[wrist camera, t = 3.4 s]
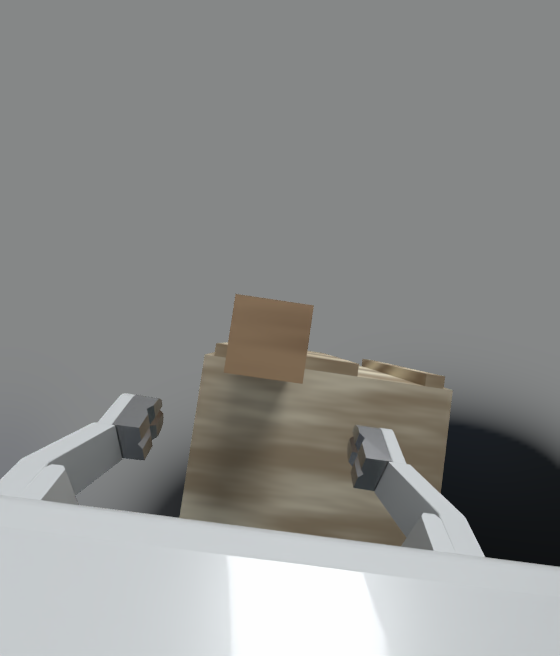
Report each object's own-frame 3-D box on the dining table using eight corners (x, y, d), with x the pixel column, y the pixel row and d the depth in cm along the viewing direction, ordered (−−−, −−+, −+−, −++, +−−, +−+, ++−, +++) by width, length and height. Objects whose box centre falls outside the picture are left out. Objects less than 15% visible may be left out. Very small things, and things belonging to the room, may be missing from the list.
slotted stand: (205, 540, 37) (235, 340, 38) (352, 560, 37) (378, 361, 38) (151, 697, 21) (206, 342, 22) (412, 729, 21) (454, 377, 22)
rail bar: (253, 352, 34) (258, 320, 34) (286, 356, 34) (290, 324, 34) (223, 372, 14) (235, 294, 14) (302, 383, 14) (313, 305, 14)
